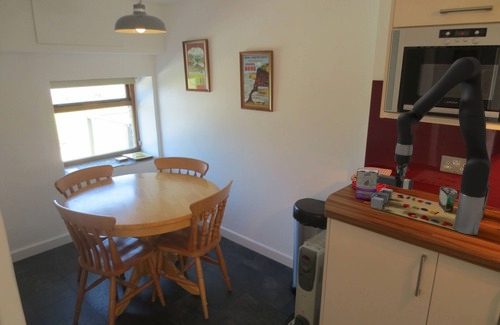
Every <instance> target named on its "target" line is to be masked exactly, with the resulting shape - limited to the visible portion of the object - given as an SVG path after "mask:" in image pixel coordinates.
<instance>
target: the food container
mask: <svg viewBox="0 0 500 325" xmlns="http://www.w3.org/2000/svg"><path fill="white" fill-rule="evenodd" d="M438 198H439V199H438V204H437V205H438V206H439V208H440V209H441V210H442V209H443V210H442V211H443V212H444V213H450V212H453V209H454V207H455V206H454V205H455V202H456V199H457V198H459V195H458V191H457V190H456V189H454V188H451V187H447V186H440V187H439V196H438Z"/></svg>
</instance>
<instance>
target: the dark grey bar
mask: <svg viewBox="0 0 500 325" xmlns="http://www.w3.org/2000/svg"><path fill="white" fill-rule="evenodd" d="M414 183H415V182H414V179H409V178H405V177H404V178H402V180H401V187H396V179H395V176H393V175H386V174H379V175H378V185H383V186H389V187H393V188H399V189H403V190H409V191H412V189H413V188H414Z"/></svg>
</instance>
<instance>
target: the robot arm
mask: <svg viewBox="0 0 500 325" xmlns="http://www.w3.org/2000/svg"><path fill="white" fill-rule="evenodd" d="M459 84H460V90H461V92H460V93H461V94H460V96H461V97H460V99H459V100H460V101H459V104H458V105H459V106H458V122H459V128H460V133H461V136H462V138H463V139H462V140H463V142H464V144H465V151H466V152H465V153H466V155H465V156H466V159H465V160H466V162H465V164H464V166H463V170H462V174H461V181H460V190H459V195H458V201H457V206H456V207H457V208H456V212H455V217H454V224H453V229H454V230H455V231H457V232H459V233H462V234H465V235H470V236H471V235H475V236H478V234H479V230H480V225H481V224H480V223H481V220H482V219H481V215H482V209H483V204H484V199H485V195H486V189H487V183H489V177H490V173H491V170H492V164H491V160H490V157H489V153H488V149H487V123H486V122H487V120H486V114H485V112H486V111H485V105H484V98H483V97H484V96H483V92H482V64H481V62H480V60H479V59H478V58H476V57H474V56H465V57H460V58H458V59H456V60H455V61H454V62H453V63H452V64H451V65H450V67H449V68H448V69H447V70H446V71H445V72H444V74H443V75H442V77H441V78H440V79H439V80H438V81H437V82H436V83H435V84H434V85H433V86H432V87H431V88H430V89H428V91H427V92H425V93H424V94H423V95H422V96H421V97H419V99H418V100H416V102H414V104H413V107H412V108H411V109H410V110H409V111H406V112H401V113H400V114H398V117H397V120H396V128H397V129H396V130H397V139H396V140H397V142H396V146H395V153H394V159H393V160H394V162H395V163H397V165H396V168H395V169H394V170H395V171H394V172H395V174H394V177H395V179H396V187H395V188H398V187H401V180H402V178H404V179H405V177H406V175H407V174H406V173H407V170H408V164H411V162H412V156H413V145H414V139H415V137H414V135H415V134H414V133H413V132H412V129H411V128H412V127H413V126H416V125H417V124H419V122H421V121H422V120H423V118H424V117H425V116H426V115H427V113H429V112H430V111H432V110H433V109H434V108H435V107H436V106H437V105H438V104H439V103H440V102H441V101H442V99H443V98H444V97H445V96H446V95H447V94H448V93H449V92H450V91H451V90H453V89H454V88H455V87H456V86H458V85H459Z"/></svg>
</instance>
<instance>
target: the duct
mask: <svg viewBox="0 0 500 325" xmlns="http://www.w3.org/2000/svg"><path fill="white" fill-rule="evenodd" d="M393 192H394V190H393V189H391V188H390V189H389V188H386V187H382V188H381V189H380V190H379V191H378V190H377V191H376V192H375V193H374V194H373V195H372V196H371V200H370V208H374V209H378V210H382V209H383V208H384V205H387V204H388V202H389V201H388V200H390V199H391V200H392V199H393Z"/></svg>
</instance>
